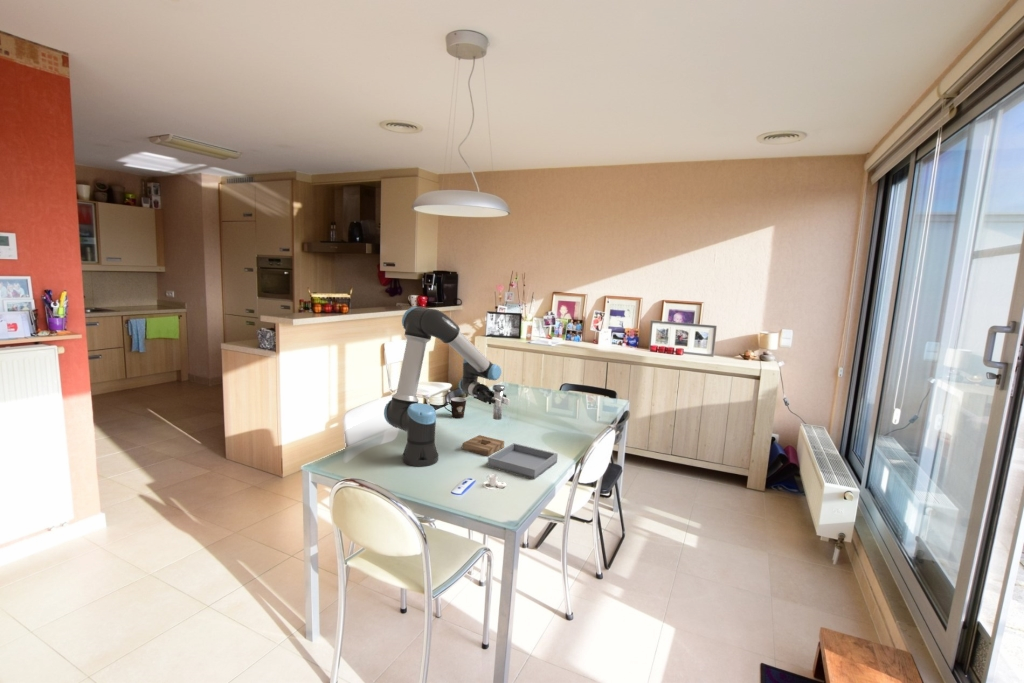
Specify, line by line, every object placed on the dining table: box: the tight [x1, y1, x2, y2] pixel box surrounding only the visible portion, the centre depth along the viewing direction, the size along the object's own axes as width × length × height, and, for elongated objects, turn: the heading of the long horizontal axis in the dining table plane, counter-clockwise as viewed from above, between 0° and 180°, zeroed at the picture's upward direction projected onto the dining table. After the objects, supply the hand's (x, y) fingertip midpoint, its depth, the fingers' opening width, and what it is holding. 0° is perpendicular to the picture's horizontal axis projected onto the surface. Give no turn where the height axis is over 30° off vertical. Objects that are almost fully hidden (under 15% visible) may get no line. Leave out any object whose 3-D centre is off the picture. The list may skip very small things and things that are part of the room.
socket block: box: [461, 434, 505, 457], centre depth 232 cm, size 14×14×3 cm
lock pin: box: [492, 384, 506, 421], centre depth 226 cm, size 5×5×15 cm
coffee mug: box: [443, 396, 467, 420], centre depth 278 cm, size 12×9×10 cm
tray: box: [487, 442, 558, 480], centre depth 215 cm, size 22×22×4 cm
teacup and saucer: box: [482, 474, 507, 490], centre depth 193 cm, size 9×8×4 cm
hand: (504, 403), depth 222 cm, fingers closed on lock pin, 4 cm apart
